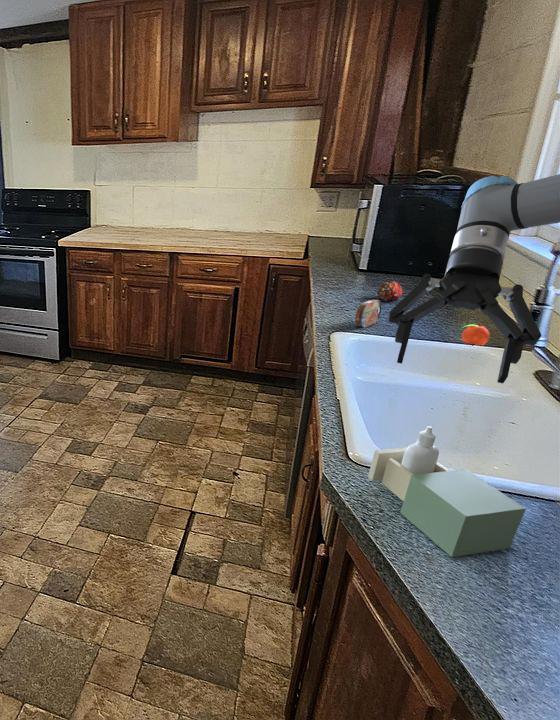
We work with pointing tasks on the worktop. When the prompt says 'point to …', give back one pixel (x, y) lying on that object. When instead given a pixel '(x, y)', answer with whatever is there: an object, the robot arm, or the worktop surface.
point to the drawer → (394, 470)
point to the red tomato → (475, 335)
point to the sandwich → (368, 313)
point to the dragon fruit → (390, 291)
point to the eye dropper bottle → (421, 454)
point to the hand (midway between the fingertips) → (449, 369)
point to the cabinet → (461, 512)
